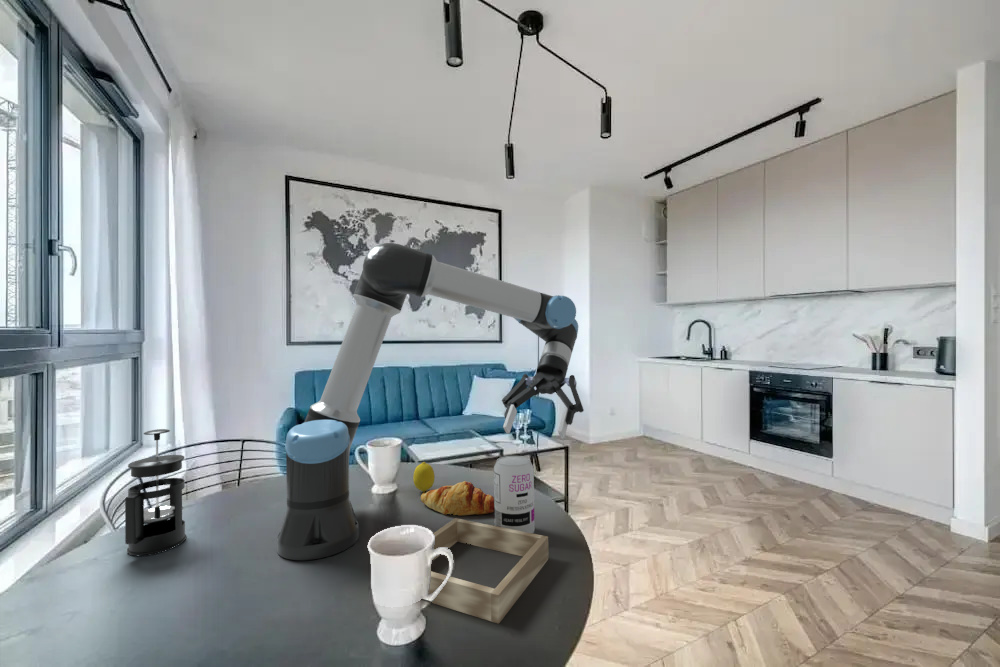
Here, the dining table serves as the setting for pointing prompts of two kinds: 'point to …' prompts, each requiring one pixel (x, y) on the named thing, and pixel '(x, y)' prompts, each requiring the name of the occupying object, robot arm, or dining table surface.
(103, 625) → the dining table surface
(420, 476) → the lemon
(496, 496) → the supplement can
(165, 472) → the french press
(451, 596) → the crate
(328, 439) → the robot arm
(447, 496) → the croissant
